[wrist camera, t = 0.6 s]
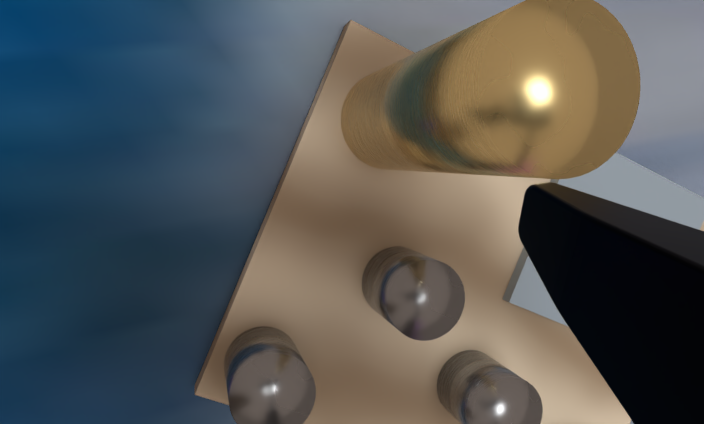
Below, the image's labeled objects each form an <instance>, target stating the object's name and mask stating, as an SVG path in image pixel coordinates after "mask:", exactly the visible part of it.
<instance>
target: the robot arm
mask: <svg viewBox="0 0 704 424" xmlns="http://www.w3.org/2000/svg"><path fill="white" fill-rule="evenodd" d="M518 233H519V237H520V240H521V242H522V244H523V246H524V248H525V250H526V252H527V254H528V256H529V258H530V259H531V261H532V263H533V265H534V267H535V269H536V271H537V273H538V275H539V276H540V278H541V280H542V282H543V284H544V286H545V288H546V290H547V292H548V293H549V295H550V297H551V299H552V301H553V303H554V304H555V306H556V308H557V310H558V311H559V313H560V314H561V316H562V318H563V319H564V321H565V322H566V324H567V325H568V327H569V328H570V330H571V331H572V333H573V334H574V336H575V337H576V338H577V340H578V341H579V343H580V344H581V346H582V347H583V349H584V350H585V352H586V353H587V355H588V356H589V358H590V359H591V361H592V362H593V364H594V365H595V367H596V368H597V370H598V371H599V373H600V374H601V375H602V377H603V378H604V380H605V381H606V383H607V384H608V386H609V387H610V389H611V390H612V392H613V393H614V395H615V396H616V398H617V399H618V401H619V402H620V404H621V405H622V407H623V408H624V409H625V411H626V412H627V414H628V415H629V417H630V418H631V420H632V421H633V423H634V424H704V231H702V230H699V229H695V228H692V227H689V226H686V225H683V224H680V223H677V222H674V221H671V220H668V219H665V218H662V217H658V216H655V215H652V214H649V213H646V212H643V211H640V210H637V209H634V208H631V207H628V206H625V205H621V204H618V203H615V202H612V201H609V200H606V199H603V198H600V197H597V196H594V195H591V194H588V193H584V192H581V191H578V190H575V189H572V188H569V187H566V186H563V185H560V184H557V183H553V182H546V183H540V184H533V185H530V186H529V187H528V188H527V189H526V191H525V194H524V199H523V204H522V209H521V214H520V219H519V225H518Z"/></svg>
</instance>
